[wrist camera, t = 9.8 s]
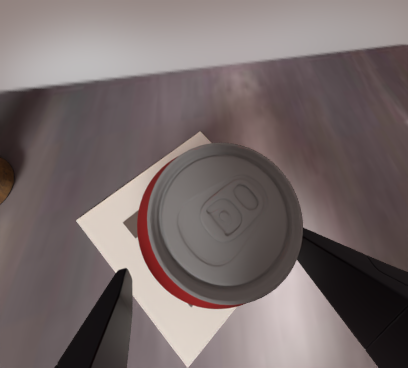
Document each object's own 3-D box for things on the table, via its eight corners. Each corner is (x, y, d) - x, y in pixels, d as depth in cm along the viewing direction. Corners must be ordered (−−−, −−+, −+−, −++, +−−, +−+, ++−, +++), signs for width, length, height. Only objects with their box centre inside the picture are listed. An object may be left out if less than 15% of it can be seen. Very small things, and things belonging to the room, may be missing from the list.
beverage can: (148, 223, 16) (77, 196, 5) (201, 183, 18) (234, 99, 7) (191, 280, 15) (221, 406, 4) (242, 232, 17) (357, 226, 6)
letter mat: (187, 364, 14) (187, 368, 14) (78, 220, 16) (75, 220, 16) (295, 231, 19) (298, 230, 18) (199, 133, 21) (200, 130, 20)
